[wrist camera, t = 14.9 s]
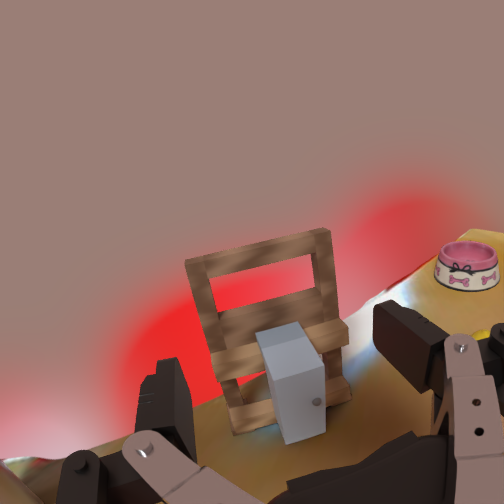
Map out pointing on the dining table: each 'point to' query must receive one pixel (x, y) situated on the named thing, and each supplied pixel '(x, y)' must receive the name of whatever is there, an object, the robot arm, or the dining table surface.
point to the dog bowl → (467, 266)
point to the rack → (270, 320)
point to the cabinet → (294, 381)
